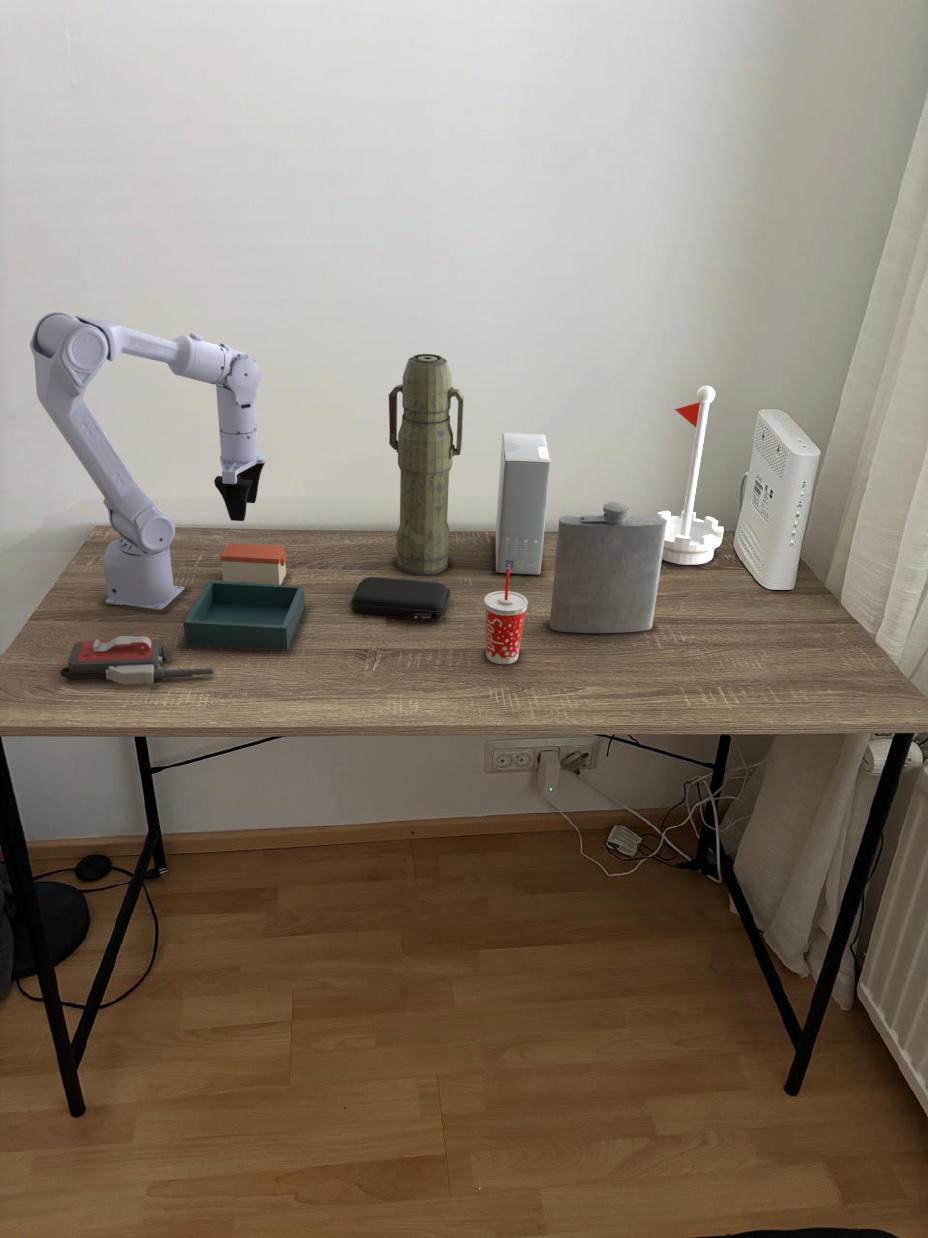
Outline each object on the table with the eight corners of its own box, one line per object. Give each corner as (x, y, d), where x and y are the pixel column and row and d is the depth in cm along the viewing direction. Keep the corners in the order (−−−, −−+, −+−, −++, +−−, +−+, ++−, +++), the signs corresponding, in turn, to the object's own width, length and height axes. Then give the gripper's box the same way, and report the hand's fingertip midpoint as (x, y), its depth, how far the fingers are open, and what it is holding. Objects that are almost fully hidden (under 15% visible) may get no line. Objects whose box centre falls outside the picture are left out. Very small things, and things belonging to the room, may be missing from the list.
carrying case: (346, 620, 155) (443, 628, 154) (346, 602, 154) (443, 610, 152) (360, 589, 164) (451, 597, 163) (360, 572, 163) (452, 580, 162)
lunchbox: (220, 587, 163) (217, 555, 161) (228, 573, 168) (225, 542, 165) (283, 590, 163) (281, 559, 160) (289, 576, 168) (288, 546, 165)
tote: (185, 647, 146) (183, 622, 144) (210, 603, 158) (208, 580, 156) (287, 653, 146) (286, 628, 144) (305, 609, 158) (304, 585, 156)
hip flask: (649, 620, 159) (666, 499, 150) (655, 633, 155) (673, 510, 146) (547, 621, 157) (558, 499, 148) (552, 634, 154) (564, 510, 144)
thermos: (391, 550, 178) (392, 348, 162) (458, 555, 178) (467, 352, 161) (383, 572, 170) (385, 362, 154) (454, 577, 170) (463, 366, 154)
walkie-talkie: (58, 691, 134) (214, 684, 137) (53, 662, 132) (212, 656, 135) (70, 658, 142) (218, 652, 145) (65, 630, 140) (215, 624, 143)
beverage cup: (474, 649, 149) (478, 562, 142) (512, 642, 151) (518, 556, 144) (491, 670, 144) (497, 580, 137) (530, 662, 146) (538, 574, 140)
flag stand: (731, 551, 184) (760, 386, 170) (698, 574, 175) (726, 401, 161) (666, 531, 191) (689, 371, 177) (631, 552, 182) (653, 385, 168)
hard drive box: (541, 576, 172) (551, 463, 162) (495, 574, 172) (502, 460, 162) (536, 539, 185) (545, 432, 176) (494, 537, 185) (500, 430, 176)
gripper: (253, 445, 152) (258, 529, 158) (273, 416, 164) (277, 495, 171) (205, 442, 152) (212, 527, 158) (230, 414, 164) (235, 493, 171)
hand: (243, 510), depth 164 cm, fingers open, 7 cm apart
